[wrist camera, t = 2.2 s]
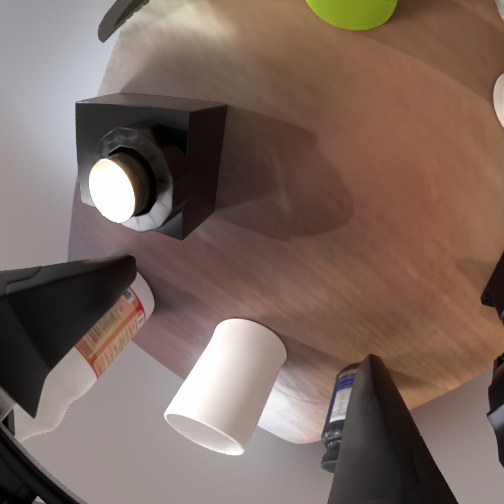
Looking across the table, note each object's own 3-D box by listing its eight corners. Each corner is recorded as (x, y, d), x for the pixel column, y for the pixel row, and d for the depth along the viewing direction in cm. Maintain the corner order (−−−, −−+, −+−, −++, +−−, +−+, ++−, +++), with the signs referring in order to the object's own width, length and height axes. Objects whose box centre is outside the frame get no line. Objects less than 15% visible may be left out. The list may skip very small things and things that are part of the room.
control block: (234, 105, 19) (177, 117, 13) (219, 213, 24) (172, 258, 19) (118, 92, 21) (55, 107, 16) (117, 182, 26) (64, 212, 21)
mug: (249, 384, 36) (212, 459, 27) (196, 349, 36) (148, 421, 27) (302, 350, 29) (264, 453, 20) (235, 304, 29) (174, 402, 20)
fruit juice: (165, 323, 36) (35, 493, 14) (115, 306, 39) (-6, 443, 17) (144, 261, 31) (-31, 452, 9) (92, 250, 34) (-58, 395, 12)
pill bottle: (374, 397, 29) (359, 480, 21) (328, 384, 31) (304, 468, 22) (399, 370, 26) (390, 466, 17) (348, 355, 27) (326, 453, 19)
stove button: (157, 155, 15) (134, 166, 14) (156, 216, 18) (136, 231, 16) (110, 145, 16) (86, 154, 15) (112, 200, 18) (92, 212, 17)
